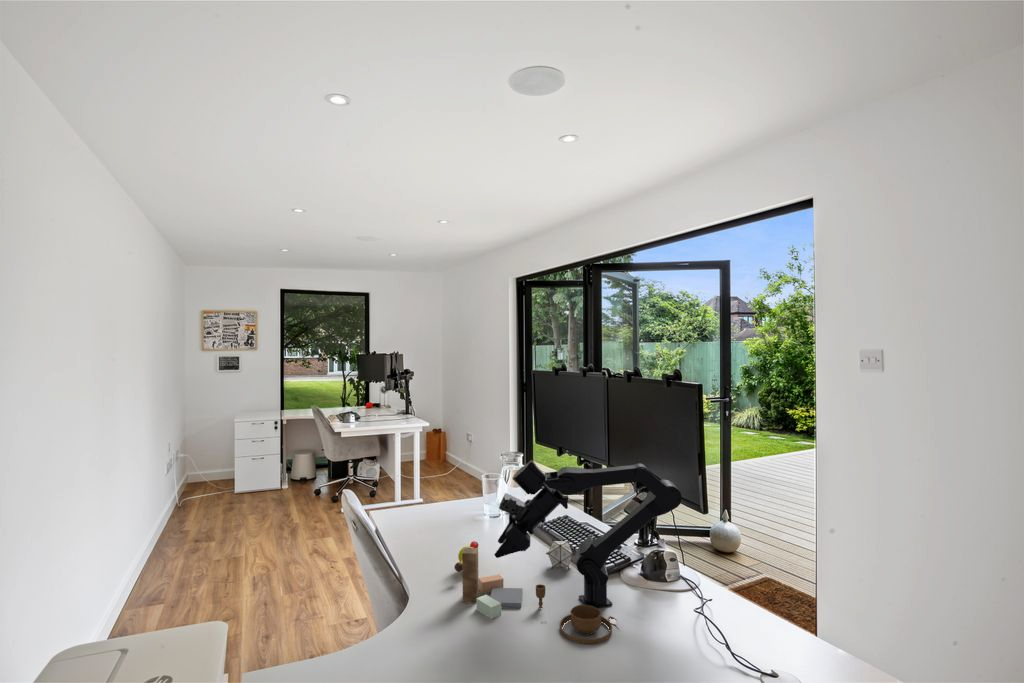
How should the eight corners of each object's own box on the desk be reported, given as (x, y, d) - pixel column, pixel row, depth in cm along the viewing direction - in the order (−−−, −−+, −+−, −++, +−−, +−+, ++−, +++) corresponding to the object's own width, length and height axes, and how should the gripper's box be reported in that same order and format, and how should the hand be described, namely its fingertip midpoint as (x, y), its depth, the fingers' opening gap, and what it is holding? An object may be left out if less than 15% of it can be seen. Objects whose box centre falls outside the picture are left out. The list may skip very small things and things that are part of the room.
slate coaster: (522, 592, 146) (522, 588, 146) (521, 607, 138) (521, 603, 138) (492, 592, 146) (492, 587, 146) (489, 607, 138) (489, 602, 138)
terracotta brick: (499, 585, 151) (499, 574, 151) (503, 589, 148) (503, 578, 148) (478, 589, 149) (478, 578, 149) (482, 594, 146) (482, 582, 146)
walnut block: (478, 595, 144) (478, 548, 144) (476, 602, 141) (476, 553, 141) (464, 595, 145) (464, 547, 145) (462, 602, 141) (462, 553, 141)
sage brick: (501, 615, 135) (501, 603, 135) (491, 619, 133) (491, 607, 133) (486, 606, 139) (485, 594, 139) (476, 610, 137) (476, 598, 137)
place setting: (556, 653, 120) (556, 625, 119) (531, 608, 139) (531, 585, 139) (631, 641, 124) (631, 615, 124) (596, 599, 143) (596, 577, 143)
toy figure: (468, 585, 151) (468, 560, 151) (449, 583, 152) (448, 558, 152) (485, 558, 168) (484, 536, 168) (467, 557, 169) (467, 535, 169)
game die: (564, 577, 163) (582, 547, 166) (564, 579, 155) (583, 547, 158) (539, 559, 166) (556, 530, 168) (537, 560, 158) (556, 529, 160)
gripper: (519, 475, 151) (479, 514, 152) (515, 495, 132) (470, 540, 133) (548, 504, 151) (508, 544, 151) (549, 528, 132) (502, 573, 133)
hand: (497, 549), depth 142 cm, fingers open, 9 cm apart
